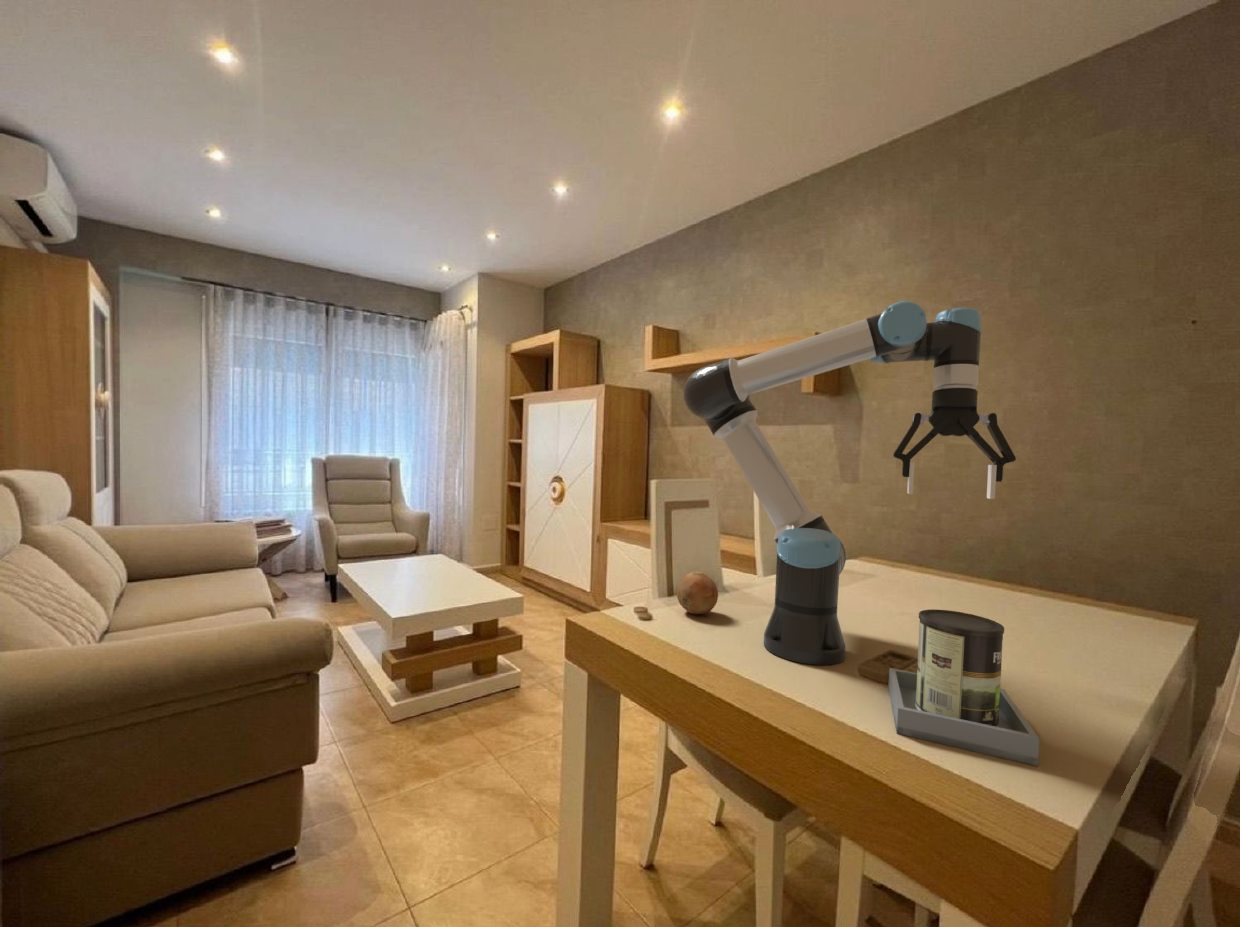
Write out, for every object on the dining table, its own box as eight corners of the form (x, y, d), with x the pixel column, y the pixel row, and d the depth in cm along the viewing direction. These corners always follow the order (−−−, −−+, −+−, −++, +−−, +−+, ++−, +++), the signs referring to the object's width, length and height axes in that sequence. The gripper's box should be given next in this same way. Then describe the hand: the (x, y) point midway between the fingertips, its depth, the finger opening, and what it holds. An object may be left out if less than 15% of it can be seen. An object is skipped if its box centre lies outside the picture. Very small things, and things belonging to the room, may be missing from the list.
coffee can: (995, 712, 75) (1000, 617, 75) (1003, 743, 67) (1008, 636, 66) (915, 692, 81) (919, 604, 81) (912, 719, 72) (917, 620, 72)
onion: (723, 613, 123) (725, 571, 123) (707, 623, 114) (709, 578, 114) (687, 605, 128) (689, 565, 128) (669, 614, 120) (671, 572, 120)
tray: (896, 733, 70) (897, 708, 70) (888, 688, 84) (889, 667, 84) (1038, 766, 63) (1039, 738, 63) (1003, 712, 78) (1004, 689, 78)
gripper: (1026, 391, 99) (1020, 499, 99) (882, 392, 109) (877, 491, 109) (1039, 385, 92) (1033, 502, 92) (885, 387, 102) (879, 492, 102)
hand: (949, 496), depth 101 cm, fingers open, 13 cm apart
